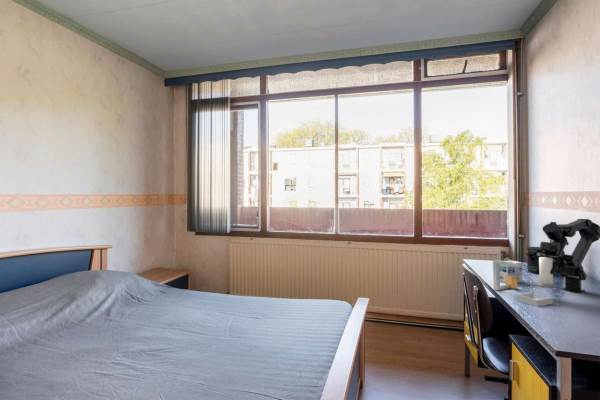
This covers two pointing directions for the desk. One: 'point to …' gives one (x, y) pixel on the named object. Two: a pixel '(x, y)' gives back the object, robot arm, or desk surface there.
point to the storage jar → (532, 264)
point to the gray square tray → (533, 299)
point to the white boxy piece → (510, 279)
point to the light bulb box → (511, 271)
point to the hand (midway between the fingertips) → (544, 272)
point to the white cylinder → (546, 272)
